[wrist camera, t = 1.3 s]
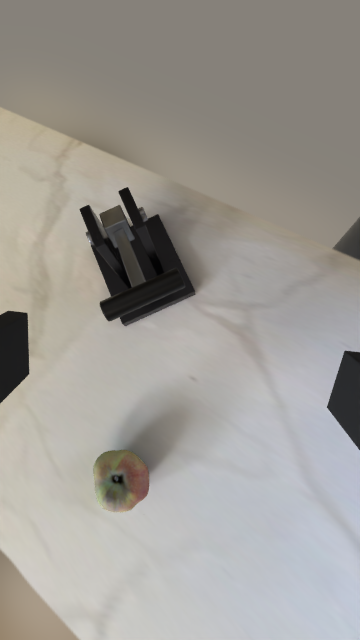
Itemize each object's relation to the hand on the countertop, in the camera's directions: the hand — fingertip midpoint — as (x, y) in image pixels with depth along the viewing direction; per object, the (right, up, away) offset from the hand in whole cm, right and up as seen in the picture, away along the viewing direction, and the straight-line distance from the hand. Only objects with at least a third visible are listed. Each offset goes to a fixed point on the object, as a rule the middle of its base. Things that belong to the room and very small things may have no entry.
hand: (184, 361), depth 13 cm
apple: (-6, -17, +24) cm, 30 cm away
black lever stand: (-5, +8, +29) cm, 31 cm away
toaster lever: (-4, +7, +15) cm, 18 cm away
